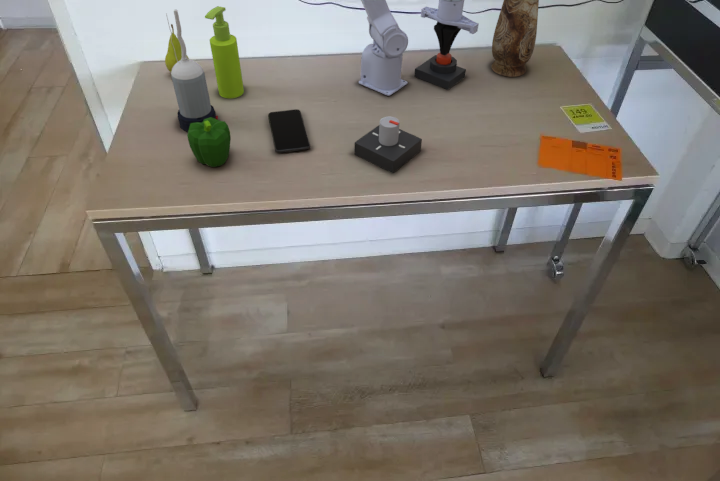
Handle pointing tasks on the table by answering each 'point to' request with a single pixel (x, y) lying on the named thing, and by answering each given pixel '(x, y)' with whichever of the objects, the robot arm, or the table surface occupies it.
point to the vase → (514, 36)
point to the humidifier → (190, 87)
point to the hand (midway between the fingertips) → (444, 53)
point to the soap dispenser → (225, 56)
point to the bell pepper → (210, 141)
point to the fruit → (170, 56)
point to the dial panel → (387, 149)
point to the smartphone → (288, 131)
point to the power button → (443, 59)
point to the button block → (440, 73)
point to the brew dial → (389, 131)
